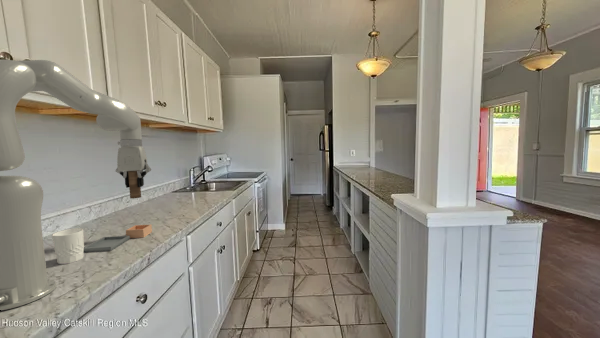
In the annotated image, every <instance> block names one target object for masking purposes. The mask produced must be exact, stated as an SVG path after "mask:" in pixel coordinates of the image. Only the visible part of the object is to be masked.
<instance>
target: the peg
mask: <svg viewBox="0 0 600 338" xmlns="http://www.w3.org/2000/svg"><path fill="white" fill-rule="evenodd" d="M128 177H129V187H128V189H129V198H130V199H139V198H142V190H141V189H142V187H138V184H137V178H138V174H137V171H128Z"/></svg>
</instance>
